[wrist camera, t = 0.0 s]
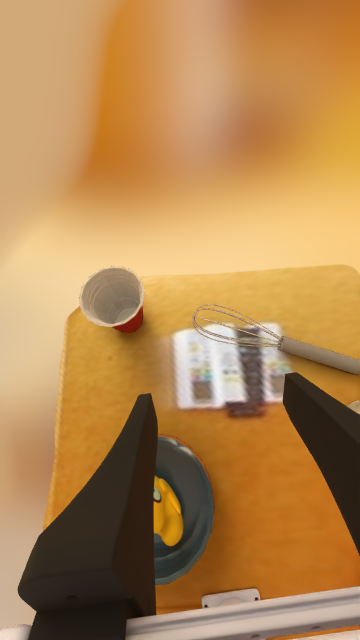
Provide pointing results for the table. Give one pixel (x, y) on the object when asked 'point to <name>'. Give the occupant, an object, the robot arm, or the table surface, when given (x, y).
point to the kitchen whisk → (296, 347)
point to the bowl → (183, 508)
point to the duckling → (167, 513)
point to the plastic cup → (113, 299)
